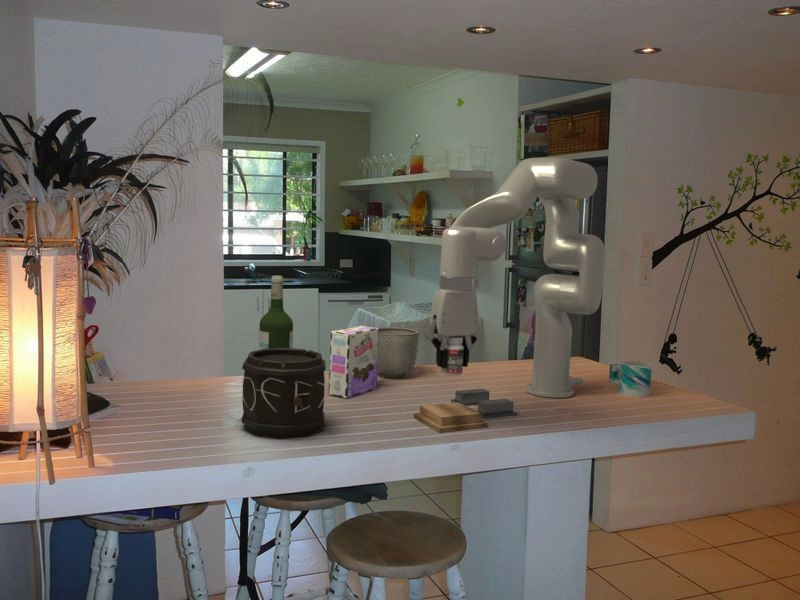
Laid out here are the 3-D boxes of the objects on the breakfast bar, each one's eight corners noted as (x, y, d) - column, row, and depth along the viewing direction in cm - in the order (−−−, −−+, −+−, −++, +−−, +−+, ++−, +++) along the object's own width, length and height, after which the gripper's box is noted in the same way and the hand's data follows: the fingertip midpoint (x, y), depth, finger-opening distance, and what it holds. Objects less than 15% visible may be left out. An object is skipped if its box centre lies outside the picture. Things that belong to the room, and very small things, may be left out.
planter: (372, 369, 220) (374, 325, 218) (419, 372, 218) (421, 328, 216) (364, 379, 206) (365, 333, 204) (414, 383, 204) (416, 336, 203)
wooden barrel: (250, 444, 147) (252, 365, 145) (232, 419, 163) (233, 348, 161) (337, 436, 154) (340, 361, 152) (312, 413, 170) (314, 345, 168)
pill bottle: (448, 376, 163) (450, 338, 162) (437, 372, 167) (439, 335, 166) (466, 375, 165) (468, 337, 164) (455, 370, 169) (457, 334, 168)
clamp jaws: (481, 399, 190) (482, 387, 189) (517, 415, 176) (517, 402, 176) (451, 401, 186) (451, 390, 185) (484, 418, 172) (485, 405, 172)
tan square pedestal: (459, 413, 176) (459, 400, 175) (486, 427, 165) (487, 414, 164) (413, 417, 170) (414, 404, 170) (439, 432, 160) (440, 419, 159)
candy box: (346, 399, 184) (348, 333, 182) (327, 395, 187) (329, 330, 185) (377, 389, 196) (380, 327, 194) (359, 385, 199) (361, 324, 197)
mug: (634, 398, 197) (637, 367, 196) (601, 388, 207) (603, 358, 206) (656, 395, 201) (658, 365, 200) (622, 386, 211) (624, 356, 210)
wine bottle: (297, 400, 181) (300, 277, 178) (271, 405, 176) (274, 278, 172) (277, 393, 187) (280, 274, 183) (251, 398, 181) (253, 275, 177)
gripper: (480, 282, 171) (475, 361, 173) (414, 282, 163) (410, 364, 165) (498, 286, 164) (493, 367, 166) (430, 286, 157) (426, 372, 159)
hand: (452, 365), depth 166 cm, fingers closed on pill bottle, 4 cm apart
